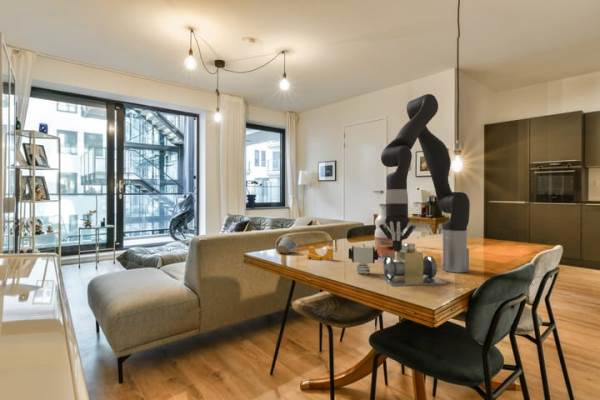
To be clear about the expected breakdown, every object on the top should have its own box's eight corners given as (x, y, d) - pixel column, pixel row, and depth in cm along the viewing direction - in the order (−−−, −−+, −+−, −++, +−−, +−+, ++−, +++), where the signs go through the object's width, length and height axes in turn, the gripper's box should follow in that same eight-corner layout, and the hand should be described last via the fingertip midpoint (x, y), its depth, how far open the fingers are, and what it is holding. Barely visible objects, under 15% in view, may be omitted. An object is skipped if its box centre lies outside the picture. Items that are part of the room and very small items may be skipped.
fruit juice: (370, 261, 154) (370, 203, 154) (383, 259, 159) (383, 203, 159) (385, 264, 146) (386, 204, 146) (398, 262, 152) (398, 204, 152)
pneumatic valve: (378, 275, 125) (378, 245, 125) (348, 273, 128) (348, 244, 128) (377, 272, 131) (377, 243, 131) (349, 270, 133) (349, 242, 133)
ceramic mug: (281, 257, 171) (273, 247, 170) (288, 248, 177) (280, 237, 176) (294, 253, 164) (285, 242, 163) (301, 243, 170) (292, 232, 169)
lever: (417, 250, 118) (417, 244, 118) (383, 254, 110) (383, 247, 110) (409, 249, 121) (409, 242, 121) (375, 252, 114) (375, 245, 114)
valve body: (427, 275, 125) (427, 248, 125) (446, 284, 112) (446, 253, 112) (378, 277, 122) (379, 249, 122) (392, 286, 110) (392, 255, 109)
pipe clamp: (307, 260, 156) (307, 247, 156) (310, 259, 160) (310, 246, 160) (330, 262, 151) (330, 249, 151) (333, 261, 155) (333, 248, 155)
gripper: (419, 202, 111) (419, 251, 111) (383, 202, 119) (383, 248, 119) (412, 202, 105) (412, 254, 105) (375, 202, 113) (375, 251, 113)
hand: (397, 251), depth 112 cm, fingers closed
